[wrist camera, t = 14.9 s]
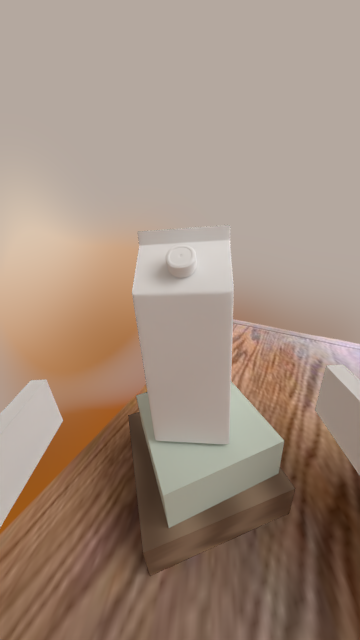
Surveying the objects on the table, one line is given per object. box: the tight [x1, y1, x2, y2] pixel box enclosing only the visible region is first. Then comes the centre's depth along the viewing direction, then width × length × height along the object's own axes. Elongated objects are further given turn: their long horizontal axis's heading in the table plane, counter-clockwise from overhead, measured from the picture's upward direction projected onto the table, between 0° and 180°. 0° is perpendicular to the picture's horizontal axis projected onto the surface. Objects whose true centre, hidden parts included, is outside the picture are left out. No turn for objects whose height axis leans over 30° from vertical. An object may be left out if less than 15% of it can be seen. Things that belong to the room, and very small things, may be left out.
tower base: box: [128, 412, 295, 576], centre depth 28 cm, size 15×15×5 cm
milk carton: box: [132, 225, 234, 444], centre depth 21 cm, size 7×7×19 cm
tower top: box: [136, 382, 284, 528], centre depth 26 cm, size 12×12×5 cm
